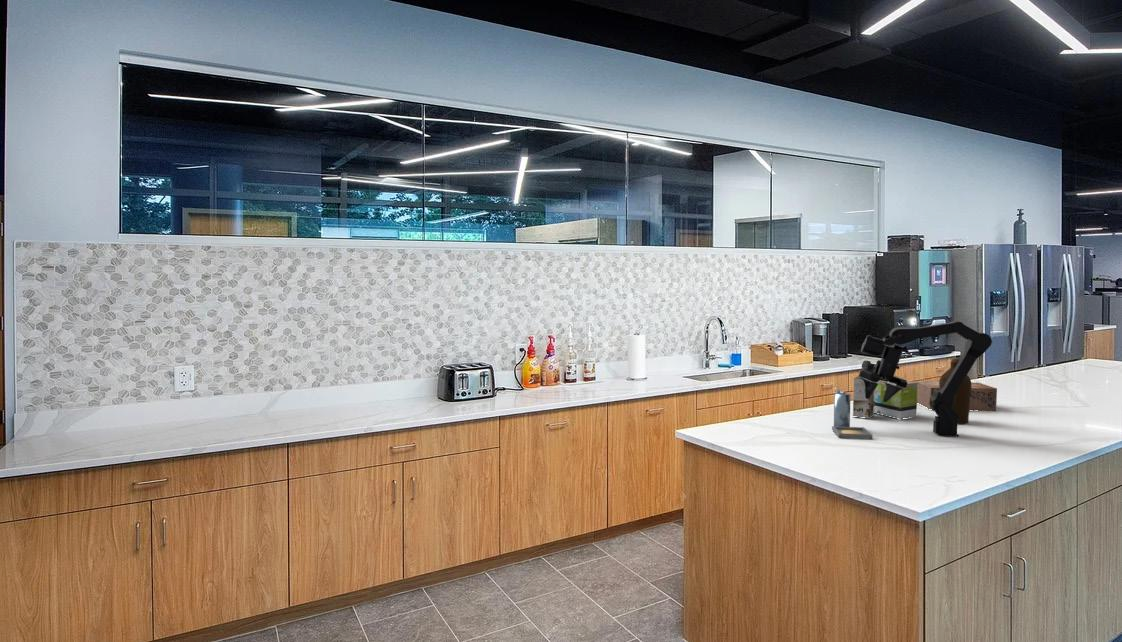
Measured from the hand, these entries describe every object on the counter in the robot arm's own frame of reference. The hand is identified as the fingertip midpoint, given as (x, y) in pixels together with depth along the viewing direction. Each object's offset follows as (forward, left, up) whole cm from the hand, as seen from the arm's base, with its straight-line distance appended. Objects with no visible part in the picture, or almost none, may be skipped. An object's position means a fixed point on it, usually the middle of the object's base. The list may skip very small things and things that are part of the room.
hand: (875, 400), depth 229 cm
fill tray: (+10, +9, -11) cm, 18 cm away
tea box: (-14, -27, -11) cm, 32 cm away
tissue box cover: (-45, -48, -12) cm, 67 cm away
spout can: (+11, -1, -11) cm, 16 cm away
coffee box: (-2, -23, -11) cm, 26 cm away
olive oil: (-34, -19, -11) cm, 40 cm away
